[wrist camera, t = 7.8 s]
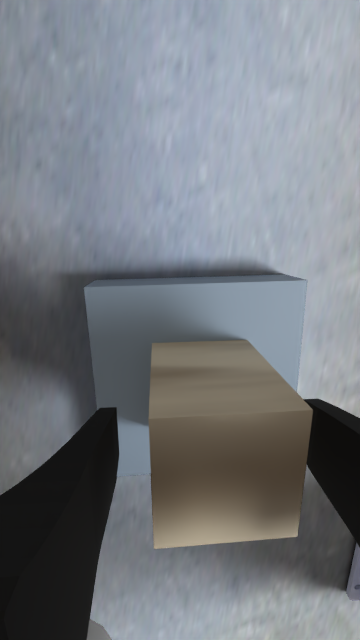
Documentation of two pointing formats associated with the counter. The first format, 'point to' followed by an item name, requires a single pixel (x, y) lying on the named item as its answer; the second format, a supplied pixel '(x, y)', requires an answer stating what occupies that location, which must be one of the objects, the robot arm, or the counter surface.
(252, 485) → the birch block
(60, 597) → the robot arm
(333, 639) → the counter surface
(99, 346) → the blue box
